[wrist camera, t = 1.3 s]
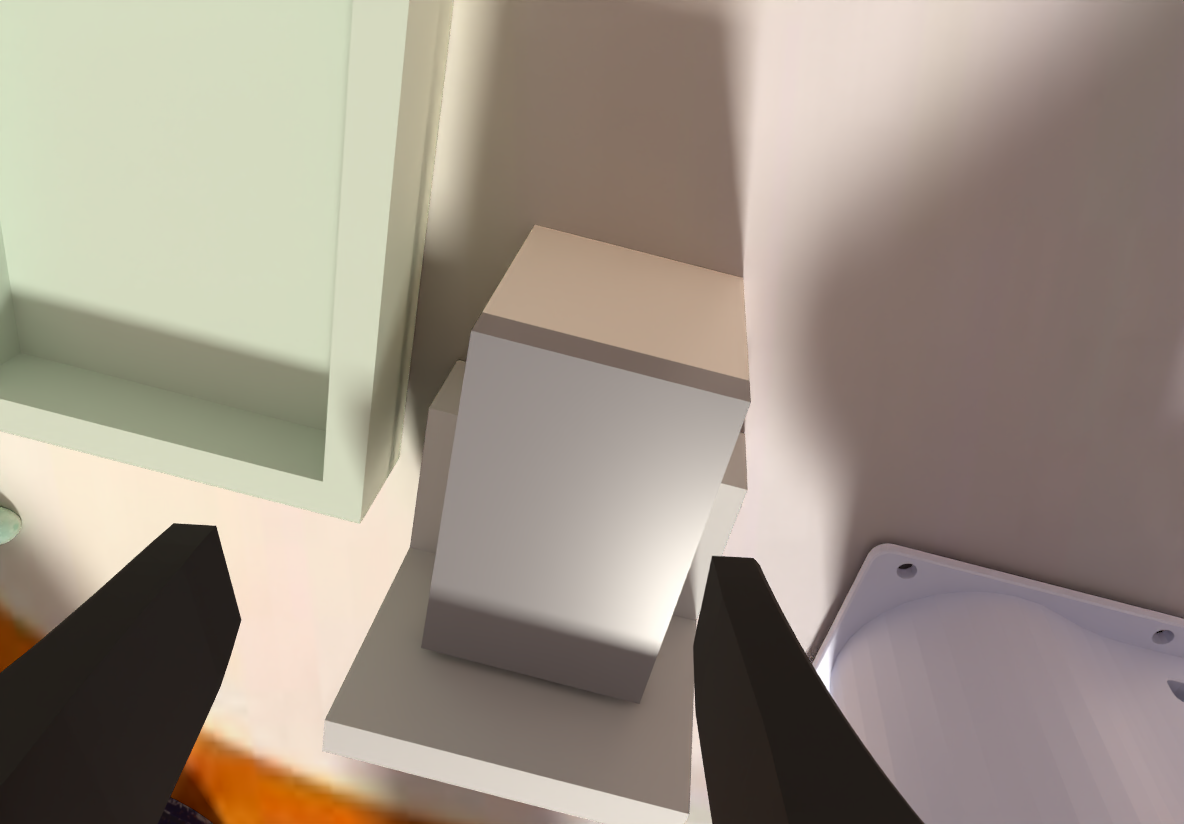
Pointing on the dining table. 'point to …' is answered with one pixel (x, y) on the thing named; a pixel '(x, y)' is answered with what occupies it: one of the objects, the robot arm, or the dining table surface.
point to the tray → (218, 234)
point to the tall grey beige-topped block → (586, 460)
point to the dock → (523, 686)
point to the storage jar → (181, 814)
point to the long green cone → (8, 525)
